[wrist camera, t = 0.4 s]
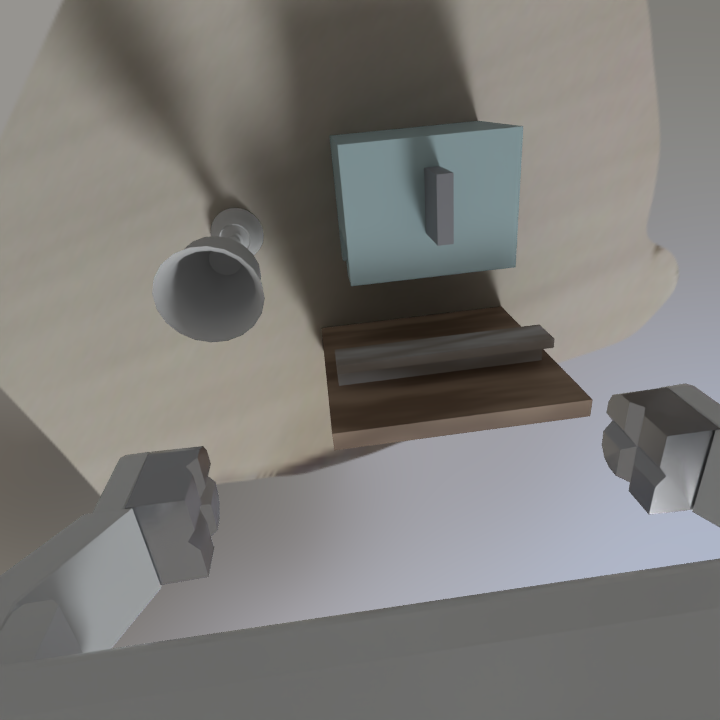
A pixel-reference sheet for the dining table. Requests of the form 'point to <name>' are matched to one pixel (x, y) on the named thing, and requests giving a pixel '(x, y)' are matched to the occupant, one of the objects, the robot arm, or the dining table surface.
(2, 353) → the dining table surface
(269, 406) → the dining table surface
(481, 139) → the cabinet
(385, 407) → the wall board
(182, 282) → the chalice
